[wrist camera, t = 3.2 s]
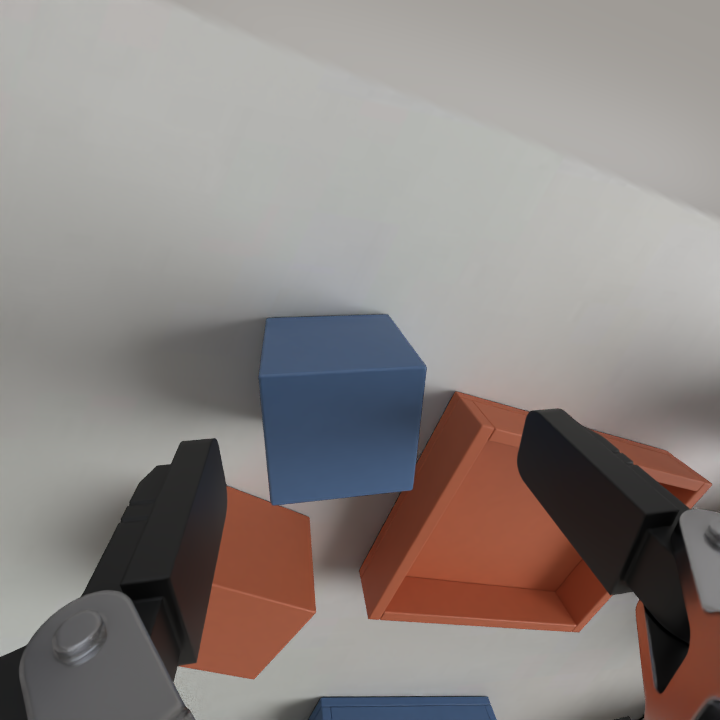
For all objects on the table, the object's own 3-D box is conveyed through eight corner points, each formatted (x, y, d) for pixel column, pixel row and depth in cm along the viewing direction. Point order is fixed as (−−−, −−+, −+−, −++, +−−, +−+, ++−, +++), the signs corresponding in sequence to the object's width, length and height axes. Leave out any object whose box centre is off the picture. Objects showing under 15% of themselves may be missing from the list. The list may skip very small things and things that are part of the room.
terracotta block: (173, 550, 17) (140, 660, 13) (221, 483, 16) (201, 581, 12) (260, 576, 19) (254, 680, 15) (309, 516, 18) (316, 613, 14)
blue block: (274, 422, 15) (270, 507, 11) (266, 317, 13) (257, 375, 9) (382, 414, 16) (413, 491, 12) (388, 313, 14) (428, 366, 10)
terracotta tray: (358, 570, 20) (367, 619, 18) (454, 390, 16) (482, 424, 14) (552, 590, 24) (579, 633, 22) (666, 450, 20) (713, 484, 18)
